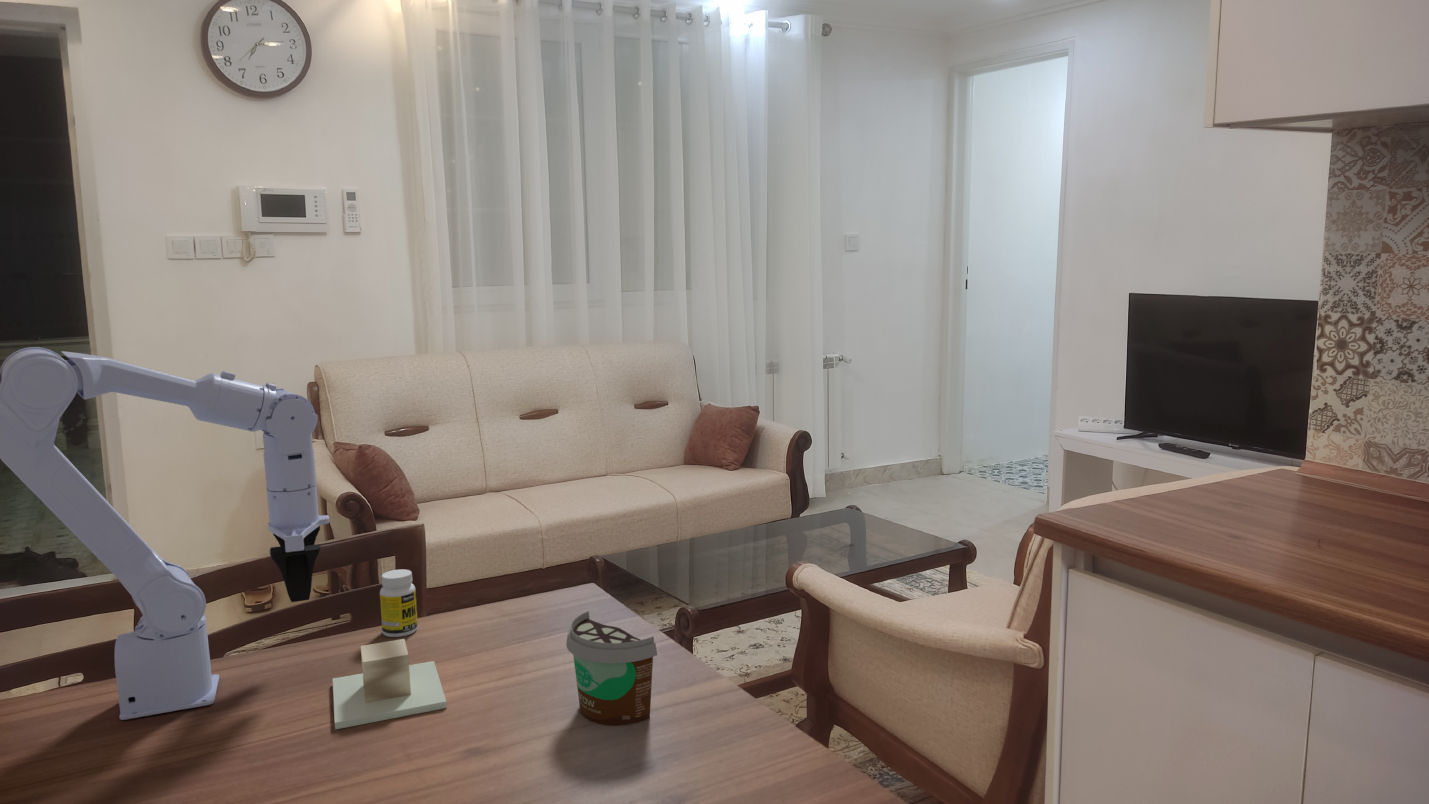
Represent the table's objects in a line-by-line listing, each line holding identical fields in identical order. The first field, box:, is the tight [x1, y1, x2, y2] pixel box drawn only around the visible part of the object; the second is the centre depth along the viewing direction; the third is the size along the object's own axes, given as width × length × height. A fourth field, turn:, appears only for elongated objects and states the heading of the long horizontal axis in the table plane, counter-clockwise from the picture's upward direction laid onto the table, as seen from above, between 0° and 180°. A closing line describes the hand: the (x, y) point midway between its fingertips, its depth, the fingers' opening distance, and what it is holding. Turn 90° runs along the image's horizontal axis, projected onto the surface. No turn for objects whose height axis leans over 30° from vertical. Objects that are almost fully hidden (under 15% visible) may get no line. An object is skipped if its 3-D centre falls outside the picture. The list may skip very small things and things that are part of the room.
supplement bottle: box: [379, 568, 419, 638], centre depth 129 cm, size 5×5×8 cm
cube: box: [360, 638, 411, 703], centre depth 110 cm, size 5×5×5 cm
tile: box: [332, 660, 448, 730], centre depth 111 cm, size 12×12×1 cm
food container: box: [565, 610, 658, 727], centre depth 105 cm, size 12×6×10 cm, turn 47°
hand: (300, 590), depth 118 cm, fingers open, 7 cm apart
